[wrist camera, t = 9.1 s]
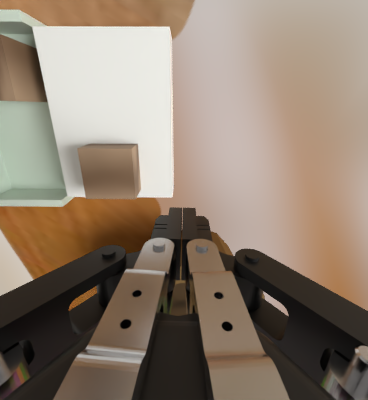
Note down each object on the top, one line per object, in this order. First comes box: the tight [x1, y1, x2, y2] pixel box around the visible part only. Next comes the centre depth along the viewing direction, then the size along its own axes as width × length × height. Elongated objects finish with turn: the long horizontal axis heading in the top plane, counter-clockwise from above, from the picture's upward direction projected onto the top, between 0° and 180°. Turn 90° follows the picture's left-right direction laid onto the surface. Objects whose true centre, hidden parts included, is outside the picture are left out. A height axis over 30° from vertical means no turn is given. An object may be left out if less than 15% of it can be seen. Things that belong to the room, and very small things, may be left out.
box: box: [0, 10, 74, 207], centre depth 24 cm, size 18×9×4 cm, turn 0°
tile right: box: [77, 144, 141, 199], centre depth 23 cm, size 5×5×3 cm
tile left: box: [0, 34, 47, 102], centre depth 21 cm, size 5×5×3 cm
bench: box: [32, 26, 174, 197], centre depth 24 cm, size 16×12×4 cm
